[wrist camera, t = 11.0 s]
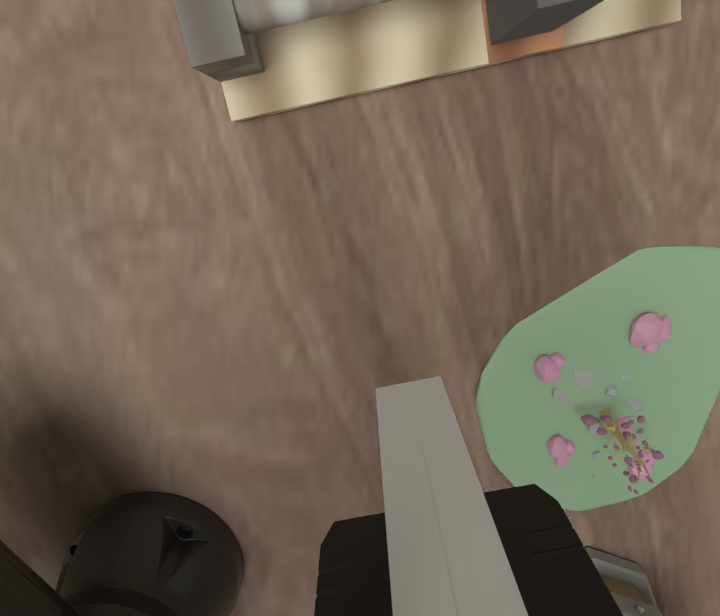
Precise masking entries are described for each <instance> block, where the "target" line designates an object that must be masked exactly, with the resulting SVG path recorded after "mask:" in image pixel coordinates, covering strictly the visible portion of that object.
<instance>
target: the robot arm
mask: <svg viewBox="0 0 720 616" xmlns="http://www.w3.org/2000/svg"><path fill="white" fill-rule="evenodd" d="M375 389H376V402H377V415H378V428H379V441H380V454H381V467H382V481H383V494H384V507H385V513H380V514H374V515H369V516H363V517H358V518H352V519H347V520H341V521H335V522H334V523H333V525H332V527H331V528H330V530H329V532H328V533H327V535H326V537H325V539H324V540H323V542H322V544H321V548H320V559H319V570H318V571H319V576H318V581H317V592H316V593H317V598H316V603H315V614H314V616H623V614H622V612H621V611H620V609H619V607H618V605H617V604H616V602H615V600H614V598H613V597H612V595H611V593H610V591H609V589H608V588H607V586H606V584H605V582H604V581H603V579H602V577H601V575H600V574H599V572H598V570H597V568H596V567H595V565H594V563H593V561H592V560H591V558H590V556H589V554H588V553H587V551H586V549H584V548H583V544H582V542H581V540H580V539H579V537H578V535H577V533H576V532H575V530H574V529H572V526H571V523H570V521H569V519H568V518H567V516H566V514H565V512H564V511H563V509H562V507H561V505H560V504H559V502H558V501H557V500H556V499H555V498H553V497H552V496H551V495H549V494H548V493H547V492H545V491H544V490H543V489H541V488H540V487H539V486H537V485H536V484H530V485H524V486H518V487H513V488H507V489H502V490H496V491H491V492H485V493H483V491H482V488H481V485H480V483H479V480H478V477H477V474H476V472H475V469H474V466H473V464H472V461H471V458H470V455H469V453H468V450H467V447H466V444H465V442H464V439H463V436H462V434H461V431H460V428H459V425H458V423H457V420H456V417H455V415H454V412H453V409H452V406H451V404H450V401H449V398H448V395H447V393H446V390H445V387H444V385H443V382H442V379H441V376H438V377H432V378H427V379H422V380H417V381H412V382H407V383H401V384H396V385H391V386H386V387H381V388H375ZM242 576H243V560H242V555H241V551H240V548H239V546H238V543H237V541H236V539H235V538H234V536H233V534H232V533H231V531H230V530H229V529H228V527H227V526H226V525H225V524H224V523H223V522H222V521H221V520H220V519H219V518H218V517H217V516H216V515H214V514H213V513H212V512H210V511H209V510H207V509H206V508H204V507H202V506H201V505H199V504H197V503H195V502H192V501H190V500H188V499H185V498H182V497H178V496H174V495H170V494H164V493H137V494H131V495H126V496H123V497H119V498H117V499H114V500H112V501H110V502H108V503H106V504H104V505H103V506H101V507H100V508H98V509H97V510H96V511H95V512H94V513H93V514H91V515H90V517H89V518H88V519H87V520H86V521H85V523H84V524H83V526H82V527H81V528H80V530H79V531H78V532H77V534H76V535H75V537H74V538H73V540H72V541H71V543H70V545H69V547H68V549H67V551H66V554H65V557H64V561H63V565H62V570H61V573H60V576H59V580H58V584H57V588H56V591H55V590H54V589H53V588H52V587H50V586H49V585H48V584H47V583H46V582H45V581H44V580H43V579H42V578H41V577H40V576H39V575H38V574H36V573H35V572H34V571H33V570H32V569H31V568H30V567H29V566H28V565H27V564H26V563H25V562H23V561H22V560H21V559H20V558H19V557H18V556H17V555H16V554H15V553H14V552H13V551H12V550H11V549H9V548H8V547H7V546H6V545H5V544H4V543H3V542H2V541H1V540H0V616H229V615H230V613H231V611H232V609H233V607H234V605H235V602H236V599H237V596H238V592H239V588H240V585H241V581H242Z"/></svg>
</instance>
